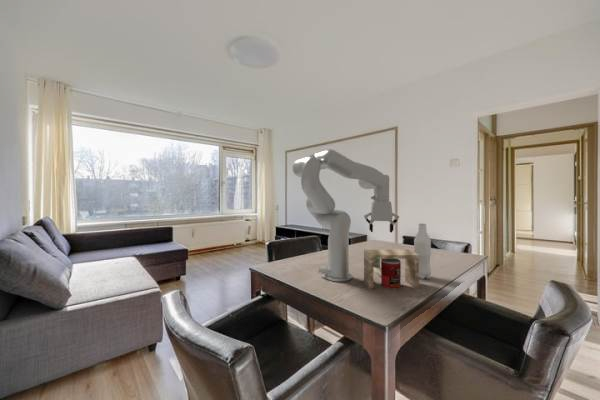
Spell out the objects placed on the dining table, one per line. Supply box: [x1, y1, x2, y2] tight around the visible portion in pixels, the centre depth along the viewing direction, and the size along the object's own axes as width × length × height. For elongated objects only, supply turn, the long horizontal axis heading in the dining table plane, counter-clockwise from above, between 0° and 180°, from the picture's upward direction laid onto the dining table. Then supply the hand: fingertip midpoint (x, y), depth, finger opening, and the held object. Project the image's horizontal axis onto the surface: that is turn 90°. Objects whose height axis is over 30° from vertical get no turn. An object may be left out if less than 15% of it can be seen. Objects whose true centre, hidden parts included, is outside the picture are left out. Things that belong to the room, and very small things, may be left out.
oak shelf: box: [363, 249, 420, 290], centre depth 106 cm, size 20×10×14 cm, turn 89°
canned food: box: [380, 259, 402, 290], centre depth 105 cm, size 8×8×11 cm
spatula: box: [373, 259, 381, 279], centre depth 121 cm, size 4×20×7 cm, turn 179°
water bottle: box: [413, 223, 432, 280], centre depth 115 cm, size 7×7×25 cm
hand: (381, 231), depth 127 cm, fingers open, 9 cm apart
